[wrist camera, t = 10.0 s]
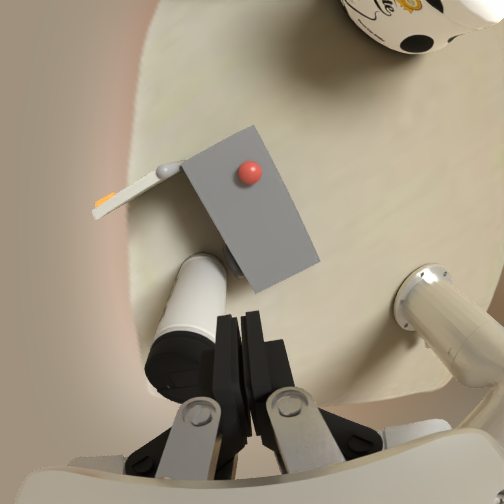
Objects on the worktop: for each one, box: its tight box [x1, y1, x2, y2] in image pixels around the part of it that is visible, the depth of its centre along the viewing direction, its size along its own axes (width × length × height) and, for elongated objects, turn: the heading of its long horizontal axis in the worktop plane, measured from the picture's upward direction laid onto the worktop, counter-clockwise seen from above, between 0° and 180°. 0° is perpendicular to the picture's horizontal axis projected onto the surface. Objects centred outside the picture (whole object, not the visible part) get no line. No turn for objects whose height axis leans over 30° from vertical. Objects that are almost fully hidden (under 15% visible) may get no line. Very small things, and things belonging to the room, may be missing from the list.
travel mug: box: [144, 253, 227, 404], centre depth 28 cm, size 6×7×20 cm
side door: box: [91, 160, 186, 220], centre depth 27 cm, size 9×2×10 cm, turn 116°
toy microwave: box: [181, 125, 320, 294], centre depth 31 cm, size 16×9×7 cm, turn 27°
